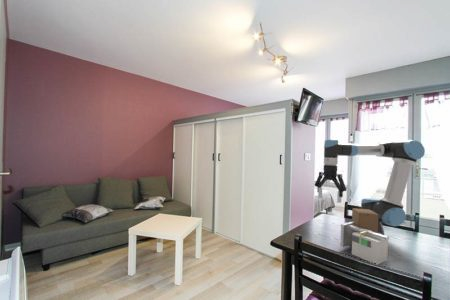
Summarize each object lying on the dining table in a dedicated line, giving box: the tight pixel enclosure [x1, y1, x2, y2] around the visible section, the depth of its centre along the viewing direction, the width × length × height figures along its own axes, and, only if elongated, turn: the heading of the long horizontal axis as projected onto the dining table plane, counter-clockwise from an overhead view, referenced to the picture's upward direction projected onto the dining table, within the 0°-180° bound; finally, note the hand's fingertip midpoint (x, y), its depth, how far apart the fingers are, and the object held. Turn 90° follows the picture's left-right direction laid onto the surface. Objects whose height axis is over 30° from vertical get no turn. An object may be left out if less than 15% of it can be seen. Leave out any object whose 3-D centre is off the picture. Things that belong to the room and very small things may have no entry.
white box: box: [351, 231, 389, 265], centre depth 108 cm, size 10×12×11 cm
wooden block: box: [351, 207, 378, 233], centre depth 122 cm, size 10×10×20 cm
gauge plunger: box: [339, 221, 390, 248], centre depth 109 cm, size 13×20×12 cm, turn 30°
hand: (329, 200), depth 128 cm, fingers open, 12 cm apart
